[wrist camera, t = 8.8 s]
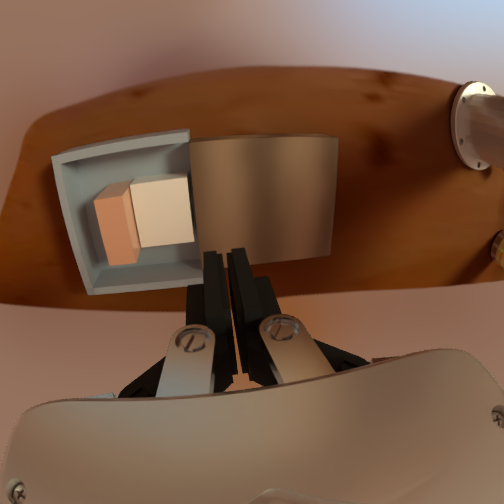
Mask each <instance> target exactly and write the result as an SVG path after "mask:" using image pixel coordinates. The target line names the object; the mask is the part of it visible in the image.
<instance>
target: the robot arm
mask: <svg viewBox="0 0 504 504" xmlns="http://www.w3.org/2000/svg"><path fill="white" fill-rule="evenodd" d="M451 134H452V140H453V143H454V147H455V150H456V152H457V154H458V156H459V158H460V159H461V161H462V162H463V163H464V164H465V165H467V166H468V167H470V168H473V169H475V170H483V169H486V168H488V167H489V166H490V165H494V166H496V167H498V168H501V169H503V171H504V97H502V96H497V95H495V93H494V92H493V90H492V89H491V88H490V87H489V86H488V85H486V84H484V83H482V82H477V81H470V82H467V83H465V84H464V85H463V86H462V87H461V88H460V89H459V90H458V92H457V94H456V96H455V99H454V102H453V105H452V111H451ZM226 255H227V266H228V276H229V286H230V296H231V306H232V313H233V319H234V326H235V332H236V338H237V343H238V349H239V355H240V361H241V367H242V372H243V373H248V375H249V379H250V381H255V382H256V383H258V384H260V385H261V387H259V388H252V389H245V390H237V391H229V392H225V390H226V388H228V387H229V386H230V385H231V384H232V383H233V377H232V375H235V374H238V370H237V361H236V353H235V345H234V336H233V327H232V319H231V311H230V304H229V297H228V291H227V284H226V277H225V270H224V263H223V256H222V253H220V254H217V251H207V252H203V263H204V283H203V284H193V285H188V286H187V303H186V326H184V327H182V328H180V329H179V330H177V331H176V332H175V333H174V334H173V335H172V338H171V340H170V343H169V348H168V351H167V355H166V356H165V357H164V358H163V359H161V360H160V361H159V362H157V363H156V364H155V365H153V366H152V367H151V368H150V369H148V370H147V371H146V372H144V373H143V374H142V375H141V376H139V377H138V378H137V379H135V380H134V381H133V382H131V383H130V384H129V385H127V386H126V387H125V388H124V389H123V390H122V391H121V392H120V394H119V395H114V394H113V393H107V394H102V395H97V396H91V397H86V398H72V399H61V400H55V401H49V402H46V403H42V404H38V405H36V406H33V407H31V408H29V409H27V410H26V411H25V412H24V413H22V414H21V415H20V417H19V418H18V419H17V421H16V423H15V425H14V427H13V429H12V431H11V434H10V436H9V439H8V442H7V445H6V448H5V452H4V456H3V460H2V464H1V468H0V504H504V390H503V389H502V387H501V386H500V385H499V383H498V382H497V381H496V379H495V378H494V377H493V376H492V374H491V373H490V372H489V371H488V370H487V369H486V368H485V366H484V365H483V364H482V363H481V362H480V361H479V360H478V359H476V358H475V357H474V356H472V355H471V354H470V353H468V352H465V351H462V350H458V349H431V350H424V351H419V352H414V353H410V354H406V355H403V356H394V357H382V358H372V359H371V361H370V362H367V361H366V360H365V359H363V358H361V357H359V356H356V355H354V354H351V353H348V352H346V351H343V350H340V349H338V348H335V347H333V346H330V345H328V344H325V343H323V342H320V341H317V340H315V339H313V338H312V337H311V335H310V334H309V332H308V331H307V329H306V328H305V326H304V325H303V323H302V322H301V321H300V320H299V319H298V318H296V317H294V316H291V315H287V314H282V313H281V310H280V308H279V305H278V302H277V299H276V297H275V294H274V291H273V288H272V286H271V283H270V280H269V278H268V276H263V277H255V278H253V275H252V271H251V268H250V264H249V261H248V257H247V254H246V250H245V247H243V248H234V249H231V252H230V253H226Z"/></svg>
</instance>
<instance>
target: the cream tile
mask: <svg viewBox="0 0 504 504" xmlns="http://www.w3.org/2000/svg"><path fill="white" fill-rule="evenodd" d="M130 190H131V196H132V202H133V207H134V213H135V218H136V224H137V229H138V234H139V238H140V243H141V248H143V247H151V246H160V245H169V244H178V243H187V242H194V223H193V214H192V206H191V196H190V187H189V177H188V171H184V172H176V173H167V174H160V175H152V176H145V177H138V178H135V179H134V180H133V181H132V183H131V184H130Z"/></svg>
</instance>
